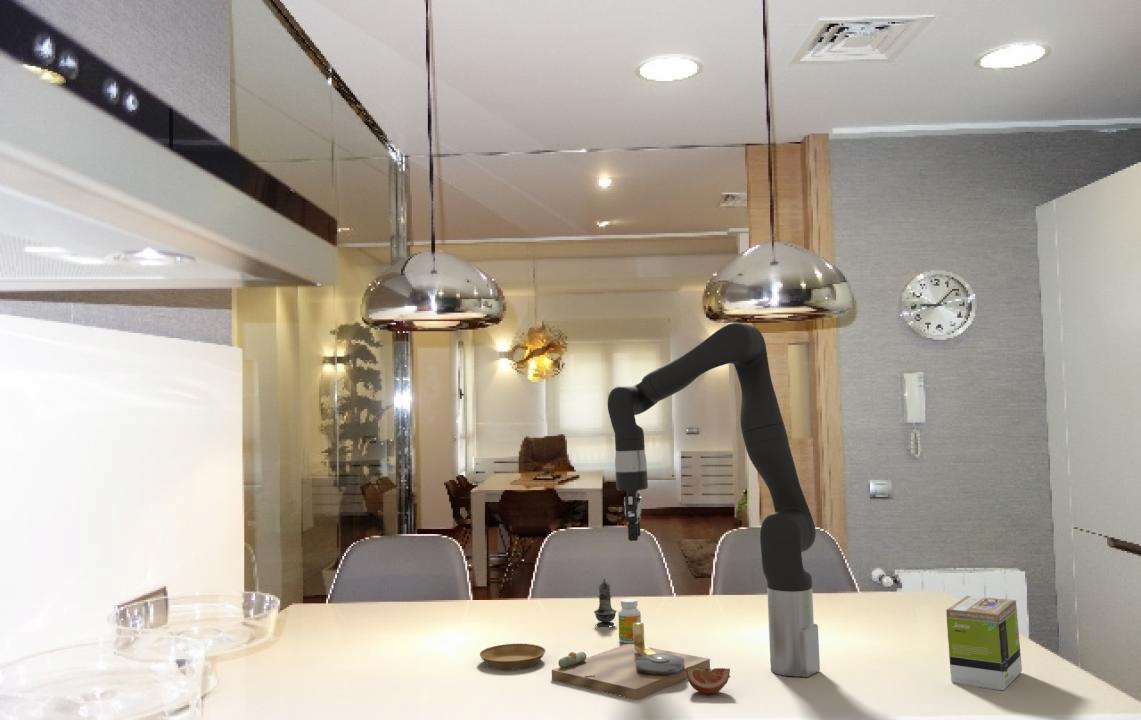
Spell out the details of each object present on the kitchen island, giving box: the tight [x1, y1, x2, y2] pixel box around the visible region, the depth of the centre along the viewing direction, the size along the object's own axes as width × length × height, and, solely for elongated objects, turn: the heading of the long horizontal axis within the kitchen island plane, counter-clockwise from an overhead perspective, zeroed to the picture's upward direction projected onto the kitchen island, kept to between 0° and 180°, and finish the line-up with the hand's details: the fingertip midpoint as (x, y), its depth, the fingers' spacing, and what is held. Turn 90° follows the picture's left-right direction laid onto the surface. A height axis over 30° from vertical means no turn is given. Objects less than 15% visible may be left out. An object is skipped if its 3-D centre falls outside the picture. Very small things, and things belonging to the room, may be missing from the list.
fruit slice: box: [686, 667, 731, 695], centre depth 171 cm, size 8×7×5 cm
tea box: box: [945, 595, 1023, 691], centre depth 176 cm, size 15×10×15 cm, turn 141°
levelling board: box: [551, 643, 711, 700], centre depth 185 cm, size 22×26×5 cm
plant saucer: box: [479, 643, 547, 670], centre depth 197 cm, size 15×15×3 cm
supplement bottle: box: [618, 598, 642, 644], centre depth 213 cm, size 5×5×10 cm
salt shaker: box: [593, 578, 617, 628], centre depth 229 cm, size 6×6×12 cm
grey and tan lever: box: [632, 622, 685, 675], centre depth 186 cm, size 20×10×6 cm, turn 14°
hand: (634, 538), depth 208 cm, fingers open, 8 cm apart
